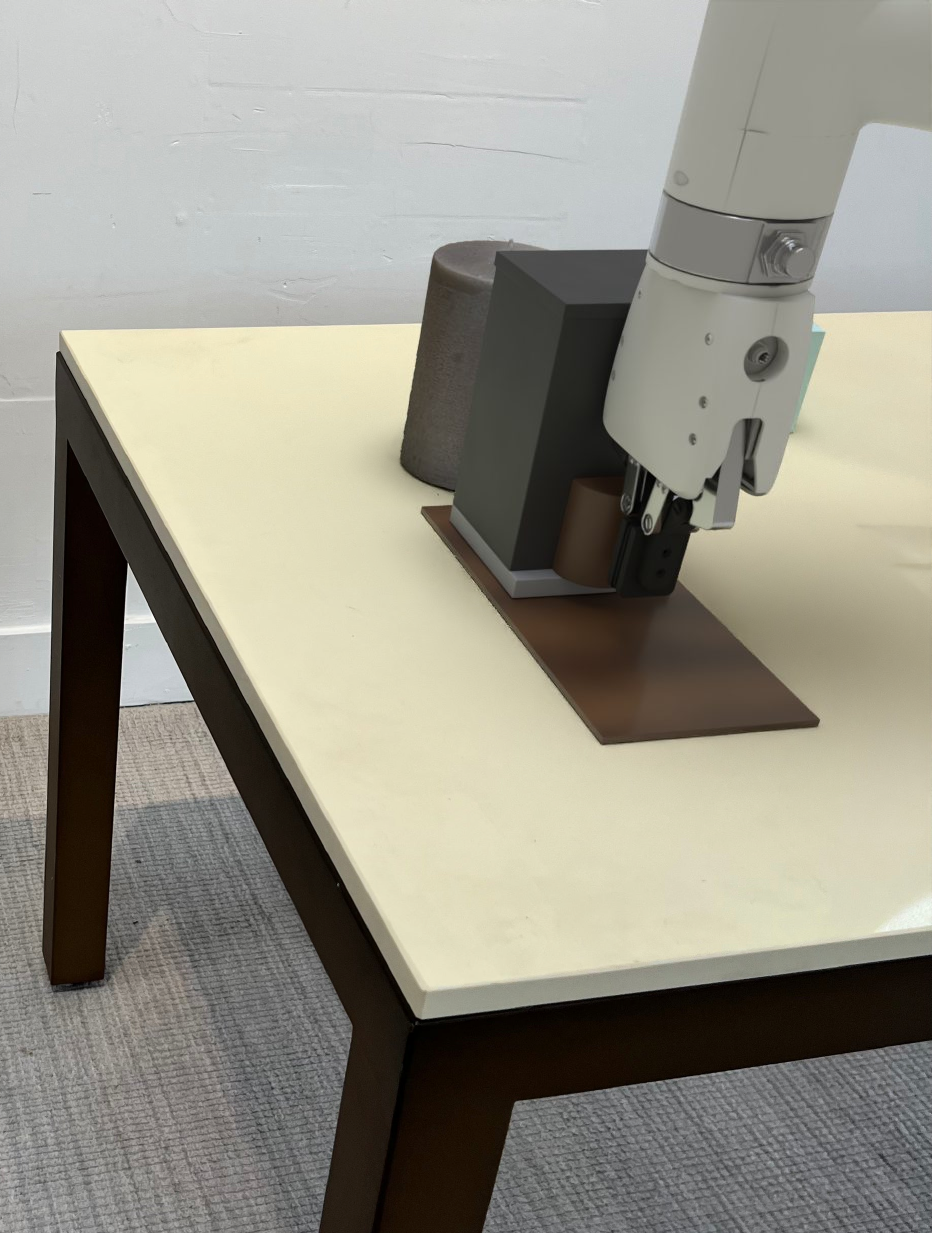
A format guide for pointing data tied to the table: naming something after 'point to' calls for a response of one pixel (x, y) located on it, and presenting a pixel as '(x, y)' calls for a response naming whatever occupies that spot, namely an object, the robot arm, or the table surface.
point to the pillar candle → (449, 357)
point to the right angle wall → (809, 365)
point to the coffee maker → (547, 422)
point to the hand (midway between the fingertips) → (638, 589)
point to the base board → (639, 658)
